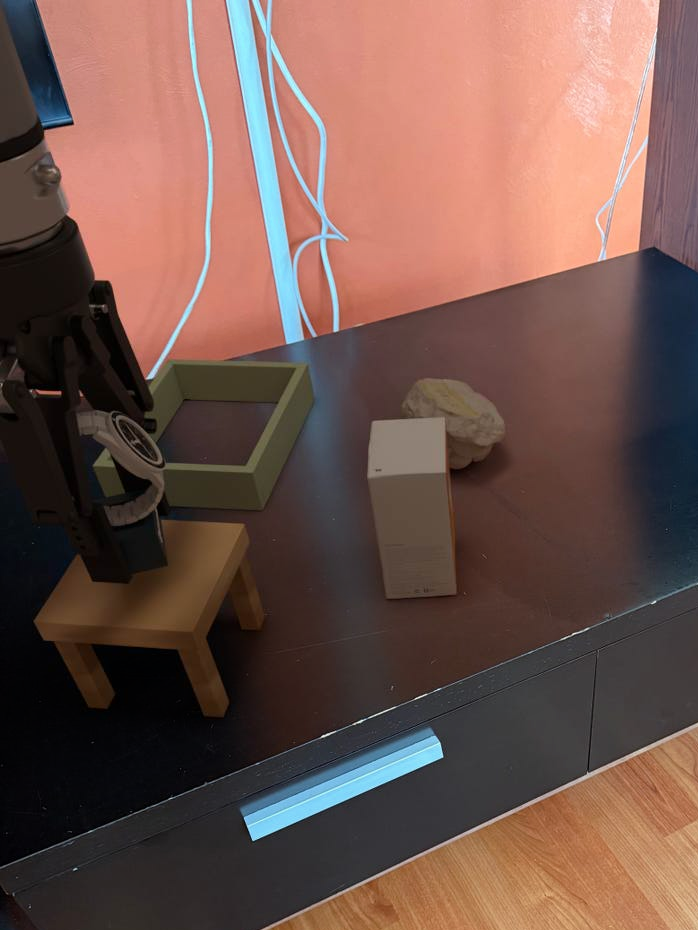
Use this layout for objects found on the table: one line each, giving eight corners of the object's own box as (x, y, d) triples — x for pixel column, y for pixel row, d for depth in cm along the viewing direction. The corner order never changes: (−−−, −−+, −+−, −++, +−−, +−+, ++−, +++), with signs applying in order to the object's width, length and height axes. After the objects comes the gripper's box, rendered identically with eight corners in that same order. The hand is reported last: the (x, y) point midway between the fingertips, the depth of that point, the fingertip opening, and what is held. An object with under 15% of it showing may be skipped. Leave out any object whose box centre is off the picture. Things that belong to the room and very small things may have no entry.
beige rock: (442, 412, 103) (382, 464, 98) (426, 343, 97) (362, 395, 92) (533, 439, 97) (474, 496, 92) (522, 367, 91) (459, 424, 86)
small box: (458, 596, 82) (447, 472, 73) (385, 600, 82) (364, 477, 73) (456, 536, 88) (446, 414, 78) (388, 540, 88) (369, 419, 79)
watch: (195, 558, 69) (150, 429, 61) (81, 586, 67) (20, 457, 59) (186, 513, 73) (143, 386, 65) (78, 539, 71) (20, 411, 63)
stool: (81, 711, 75) (32, 621, 68) (139, 606, 83) (101, 516, 76) (226, 722, 74) (192, 631, 66) (270, 614, 82) (244, 523, 75)
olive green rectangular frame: (107, 503, 94) (92, 465, 91) (179, 394, 108) (167, 358, 105) (262, 510, 92) (252, 472, 89) (315, 399, 106) (308, 362, 103)
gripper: (-21, 315, 46) (129, 645, 62) (136, 162, 59) (225, 466, 76) (-161, 312, 47) (22, 637, 63) (25, 163, 60) (136, 463, 77)
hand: (133, 544), depth 69 cm, fingers closed on watch, 7 cm apart
